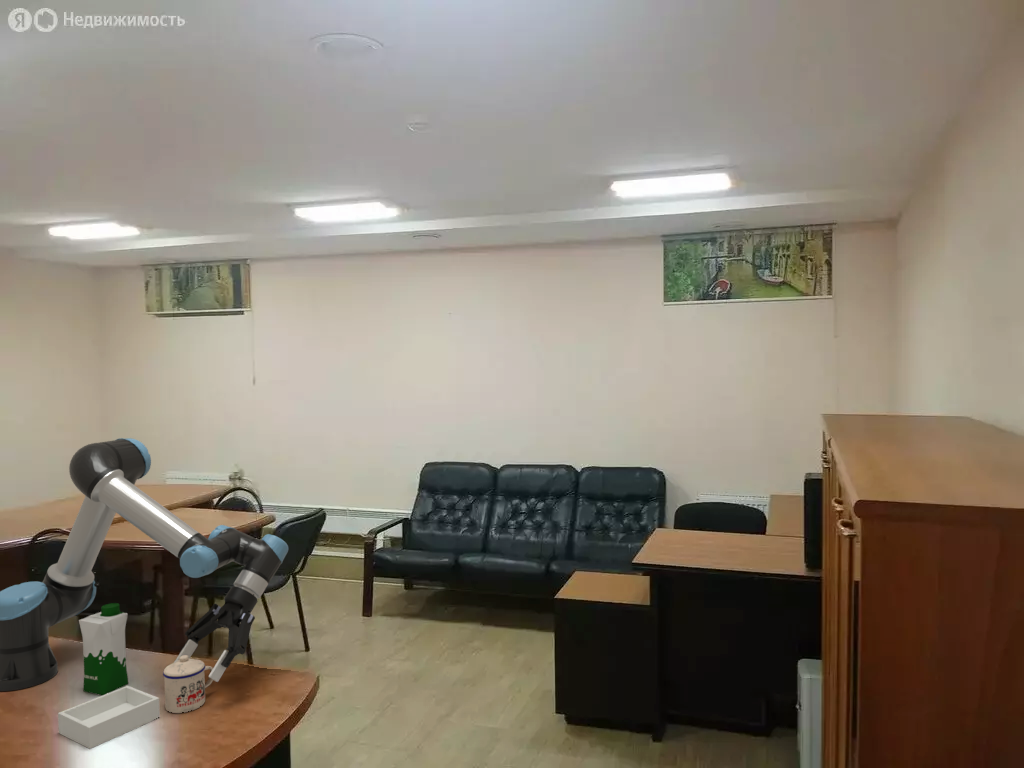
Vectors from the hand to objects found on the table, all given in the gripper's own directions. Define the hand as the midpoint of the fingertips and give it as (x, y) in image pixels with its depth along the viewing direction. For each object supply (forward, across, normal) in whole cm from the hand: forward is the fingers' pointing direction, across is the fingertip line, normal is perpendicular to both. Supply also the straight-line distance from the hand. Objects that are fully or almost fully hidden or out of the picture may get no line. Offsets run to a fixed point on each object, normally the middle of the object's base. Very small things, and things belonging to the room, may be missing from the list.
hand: (194, 673), depth 175 cm
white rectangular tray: (+17, +7, +7) cm, 19 cm away
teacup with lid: (+6, +1, -5) cm, 7 cm away
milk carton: (+10, +27, 0) cm, 28 cm away
